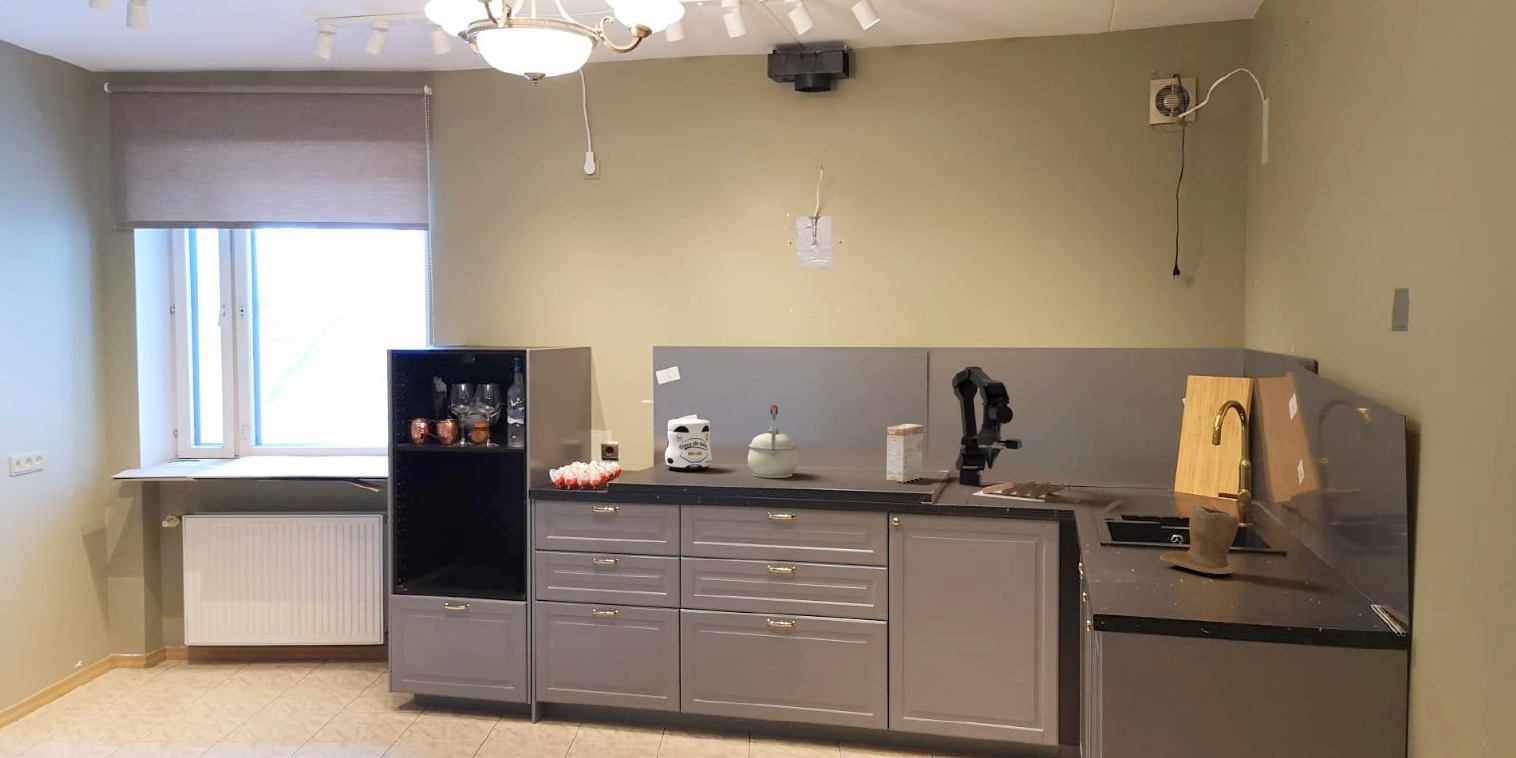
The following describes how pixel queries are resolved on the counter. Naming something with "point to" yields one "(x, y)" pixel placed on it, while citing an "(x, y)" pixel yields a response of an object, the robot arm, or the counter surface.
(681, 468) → the doce de leite jar
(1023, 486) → the domino
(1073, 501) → the domino
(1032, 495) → the domino
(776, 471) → the kettle
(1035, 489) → the domino
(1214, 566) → the brown hat
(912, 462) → the coffeecake box
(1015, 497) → the domino mat
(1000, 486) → the domino
